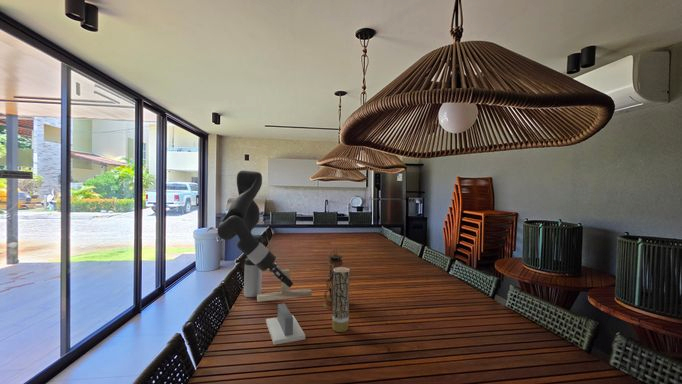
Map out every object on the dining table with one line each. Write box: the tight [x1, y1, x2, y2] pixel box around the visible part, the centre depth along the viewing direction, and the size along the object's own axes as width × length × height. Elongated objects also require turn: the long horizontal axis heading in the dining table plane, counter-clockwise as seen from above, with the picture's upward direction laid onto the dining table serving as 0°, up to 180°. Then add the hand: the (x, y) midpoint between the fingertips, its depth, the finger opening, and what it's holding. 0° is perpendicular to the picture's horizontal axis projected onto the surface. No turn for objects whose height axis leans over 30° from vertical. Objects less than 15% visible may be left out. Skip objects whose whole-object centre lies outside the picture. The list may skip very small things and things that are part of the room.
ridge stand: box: [265, 303, 306, 346], centre depth 115 cm, size 20×12×8 cm, turn 23°
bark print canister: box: [331, 266, 351, 333], centre depth 117 cm, size 7×7×25 cm
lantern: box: [322, 249, 344, 311], centre depth 143 cm, size 17×13×30 cm
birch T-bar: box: [256, 268, 313, 303], centre depth 115 cm, size 3×22×11 cm, turn 113°
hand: (290, 284), depth 116 cm, fingers closed on birch T-bar, 3 cm apart
